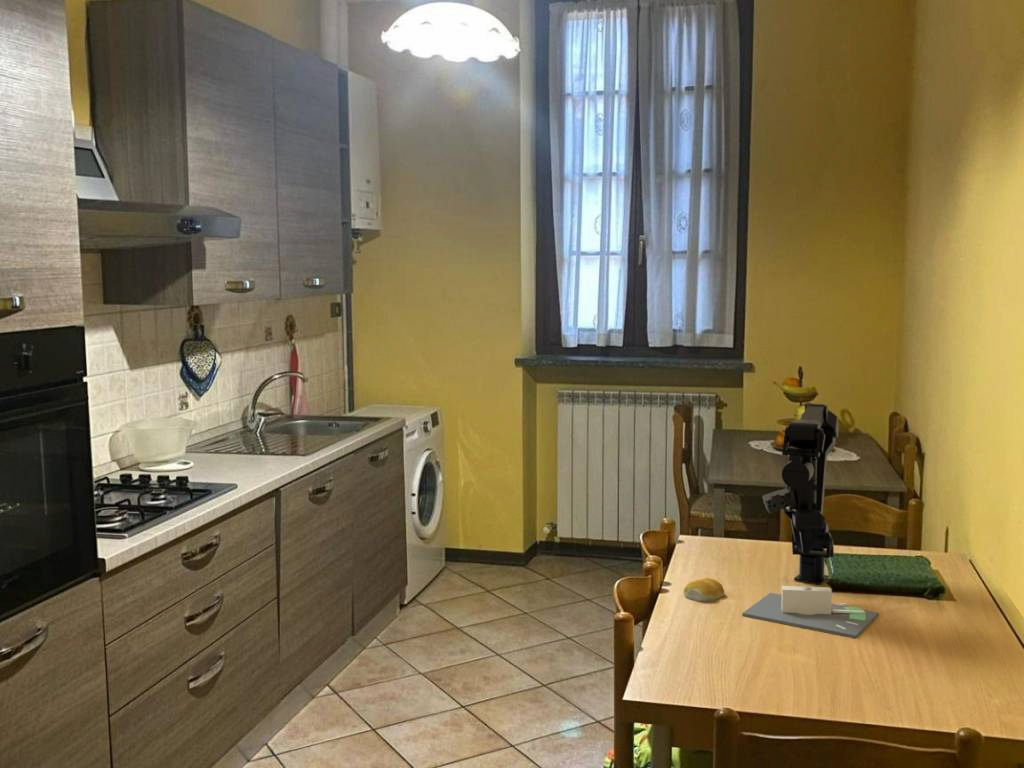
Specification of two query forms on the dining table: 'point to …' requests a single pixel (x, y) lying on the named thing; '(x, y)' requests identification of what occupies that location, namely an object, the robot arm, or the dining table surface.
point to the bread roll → (704, 590)
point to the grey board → (813, 617)
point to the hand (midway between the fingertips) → (801, 548)
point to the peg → (809, 600)
